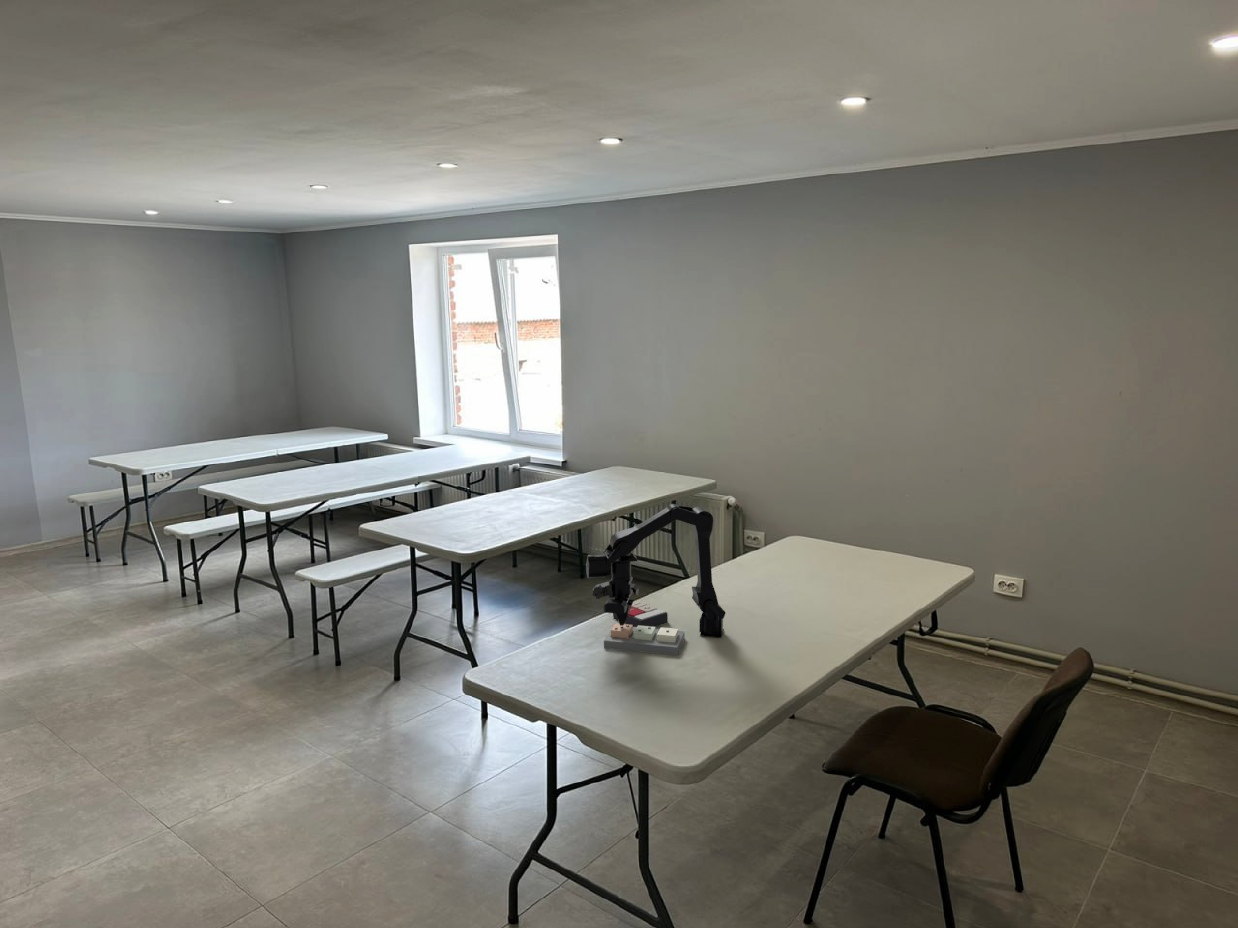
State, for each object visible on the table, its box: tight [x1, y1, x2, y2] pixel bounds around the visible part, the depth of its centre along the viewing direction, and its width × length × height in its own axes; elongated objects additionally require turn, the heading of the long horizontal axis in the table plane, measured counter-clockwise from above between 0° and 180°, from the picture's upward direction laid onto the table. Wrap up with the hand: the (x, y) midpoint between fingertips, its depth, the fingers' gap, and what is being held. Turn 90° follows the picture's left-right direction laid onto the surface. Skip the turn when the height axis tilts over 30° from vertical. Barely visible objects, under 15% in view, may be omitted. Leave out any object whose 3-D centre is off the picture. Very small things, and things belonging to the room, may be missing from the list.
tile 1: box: [657, 626, 679, 643], centre depth 237 cm, size 5×5×3 cm
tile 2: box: [634, 625, 656, 641], centre depth 239 cm, size 5×5×3 cm
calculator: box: [612, 600, 669, 628], centre depth 258 cm, size 11×4×15 cm
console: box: [603, 627, 685, 656], centre depth 240 cm, size 22×12×2 cm, turn 75°
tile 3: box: [610, 623, 633, 639], centre depth 241 cm, size 5×5×3 cm
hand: (622, 625), depth 241 cm, fingers closed
